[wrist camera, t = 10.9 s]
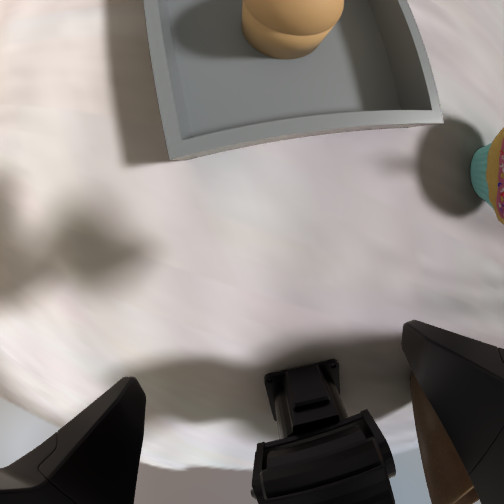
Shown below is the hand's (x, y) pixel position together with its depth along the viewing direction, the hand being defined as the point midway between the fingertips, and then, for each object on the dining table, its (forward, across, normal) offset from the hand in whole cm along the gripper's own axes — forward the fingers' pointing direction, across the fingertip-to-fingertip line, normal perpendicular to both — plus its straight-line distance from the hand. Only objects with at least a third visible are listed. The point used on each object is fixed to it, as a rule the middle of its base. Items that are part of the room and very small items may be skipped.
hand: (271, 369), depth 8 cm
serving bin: (+12, -5, -15) cm, 20 cm away
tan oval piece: (+11, -5, -15) cm, 19 cm away
